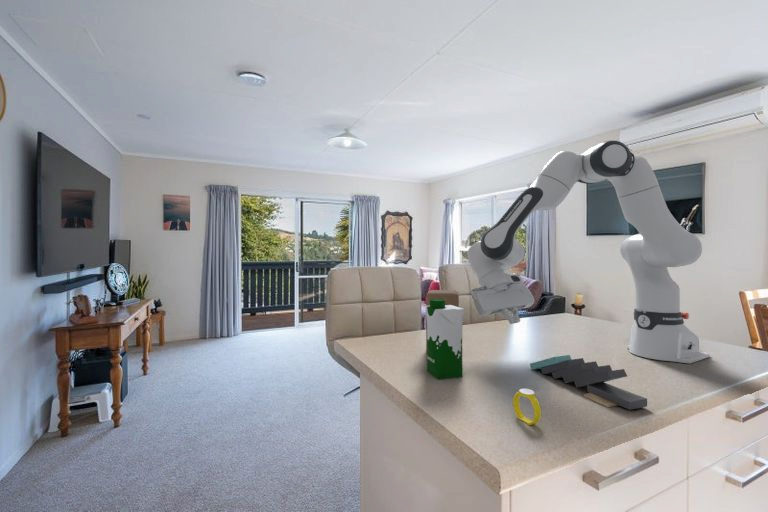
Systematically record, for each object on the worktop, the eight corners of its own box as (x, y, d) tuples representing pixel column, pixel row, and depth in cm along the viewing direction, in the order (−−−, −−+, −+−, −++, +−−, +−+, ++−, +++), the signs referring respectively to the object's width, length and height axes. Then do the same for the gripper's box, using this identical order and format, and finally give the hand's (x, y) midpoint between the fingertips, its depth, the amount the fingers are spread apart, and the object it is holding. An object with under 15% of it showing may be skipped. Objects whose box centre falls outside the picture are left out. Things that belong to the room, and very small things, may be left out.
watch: (543, 428, 67) (545, 397, 66) (531, 431, 66) (533, 399, 65) (520, 412, 72) (521, 384, 72) (509, 414, 71) (510, 386, 71)
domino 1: (529, 363, 100) (554, 356, 91) (543, 361, 101) (569, 354, 93) (531, 369, 99) (556, 363, 91) (545, 367, 101) (572, 361, 92)
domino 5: (573, 380, 86) (607, 371, 77) (589, 378, 87) (623, 368, 79) (576, 387, 85) (610, 378, 77) (592, 385, 87) (627, 376, 78)
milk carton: (422, 370, 99) (422, 298, 98) (452, 367, 101) (452, 296, 101) (436, 381, 90) (436, 302, 90) (468, 377, 93) (468, 300, 93)
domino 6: (587, 384, 82) (629, 401, 73) (603, 382, 84) (647, 398, 74) (587, 391, 82) (629, 409, 73) (603, 389, 84) (647, 406, 74)
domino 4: (562, 376, 89) (593, 367, 81) (577, 374, 91) (609, 364, 82) (565, 383, 88) (596, 374, 80) (580, 380, 90) (612, 372, 82)
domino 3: (551, 372, 92) (580, 363, 84) (566, 370, 94) (595, 361, 86) (553, 379, 92) (583, 370, 84) (568, 376, 93) (598, 368, 85)
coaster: (613, 391, 83) (613, 389, 83) (638, 401, 78) (638, 399, 78) (583, 396, 81) (583, 394, 81) (608, 407, 75) (608, 404, 75)
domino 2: (540, 368, 96) (567, 360, 88) (555, 366, 98) (582, 358, 89) (542, 374, 95) (569, 366, 87) (557, 372, 97) (585, 364, 89)
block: (458, 358, 110) (458, 293, 110) (425, 356, 112) (425, 292, 112) (458, 349, 119) (458, 290, 119) (428, 348, 121) (428, 289, 121)
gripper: (472, 284, 112) (492, 323, 105) (524, 276, 119) (546, 312, 112) (464, 294, 117) (483, 332, 109) (515, 286, 124) (535, 321, 116)
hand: (515, 322), depth 111 cm, fingers closed
